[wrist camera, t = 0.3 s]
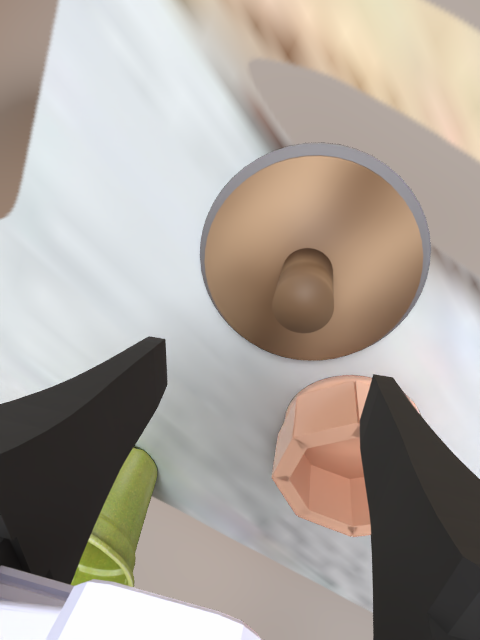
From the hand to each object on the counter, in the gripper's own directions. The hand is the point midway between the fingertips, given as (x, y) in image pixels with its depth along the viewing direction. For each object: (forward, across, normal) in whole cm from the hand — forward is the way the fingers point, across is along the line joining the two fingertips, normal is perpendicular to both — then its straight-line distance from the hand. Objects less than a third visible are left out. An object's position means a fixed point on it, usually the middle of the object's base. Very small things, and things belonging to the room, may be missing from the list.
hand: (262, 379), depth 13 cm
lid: (+9, -1, -1) cm, 9 cm away
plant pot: (+10, +12, +19) cm, 24 cm away
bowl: (+10, -6, +10) cm, 15 cm away
